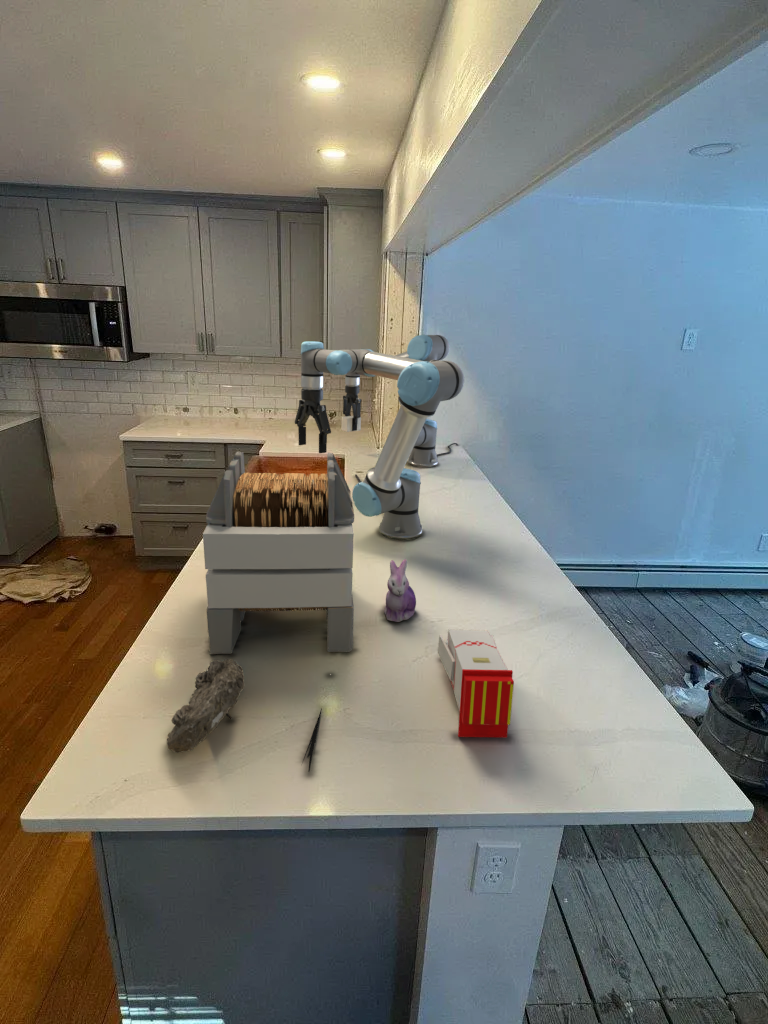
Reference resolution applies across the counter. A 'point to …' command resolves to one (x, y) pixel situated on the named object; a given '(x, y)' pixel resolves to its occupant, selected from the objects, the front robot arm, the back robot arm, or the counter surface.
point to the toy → (478, 682)
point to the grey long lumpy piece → (206, 705)
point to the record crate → (279, 550)
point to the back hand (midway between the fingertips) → (351, 429)
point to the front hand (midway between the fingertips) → (312, 448)
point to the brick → (349, 424)
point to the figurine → (399, 594)
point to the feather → (313, 740)
